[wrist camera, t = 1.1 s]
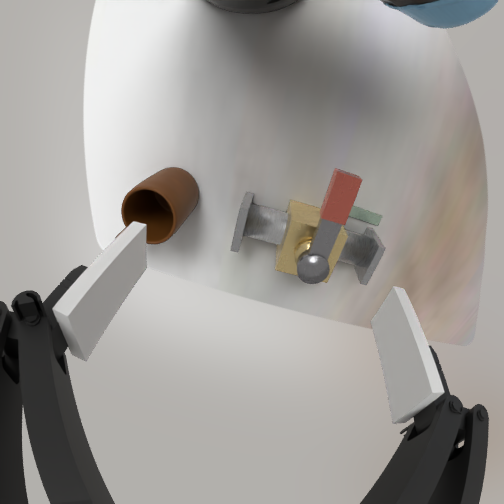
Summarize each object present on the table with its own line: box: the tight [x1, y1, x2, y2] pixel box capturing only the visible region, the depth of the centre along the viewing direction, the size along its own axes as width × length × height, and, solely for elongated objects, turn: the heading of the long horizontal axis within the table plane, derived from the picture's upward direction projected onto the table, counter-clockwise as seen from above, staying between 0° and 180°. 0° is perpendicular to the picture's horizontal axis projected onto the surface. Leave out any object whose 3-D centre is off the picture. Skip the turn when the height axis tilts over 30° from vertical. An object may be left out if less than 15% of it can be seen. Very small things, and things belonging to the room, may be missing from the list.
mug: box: [115, 167, 199, 244], centre depth 34 cm, size 12×8×9 cm, turn 126°
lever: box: [297, 168, 362, 284], centre depth 27 cm, size 13×4×2 cm, turn 167°
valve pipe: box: [230, 192, 385, 285], centre depth 34 cm, size 9×20×9 cm, turn 77°
